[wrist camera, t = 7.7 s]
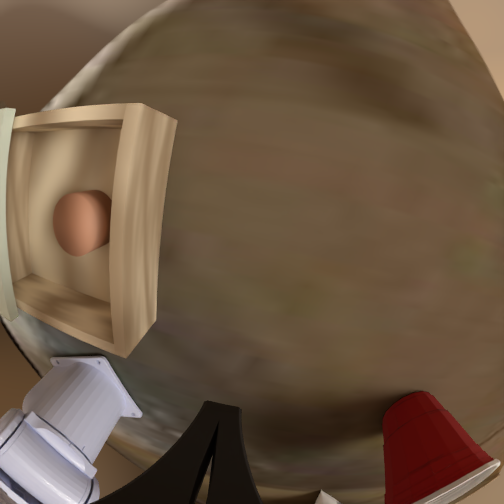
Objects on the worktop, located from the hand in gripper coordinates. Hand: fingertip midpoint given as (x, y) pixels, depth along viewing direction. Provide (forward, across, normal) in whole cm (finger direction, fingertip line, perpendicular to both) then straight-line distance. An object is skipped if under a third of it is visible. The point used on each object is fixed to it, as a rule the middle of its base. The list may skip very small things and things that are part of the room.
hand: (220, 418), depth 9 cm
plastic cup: (+10, -18, +9) cm, 22 cm away
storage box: (+9, +13, -4) cm, 17 cm away
